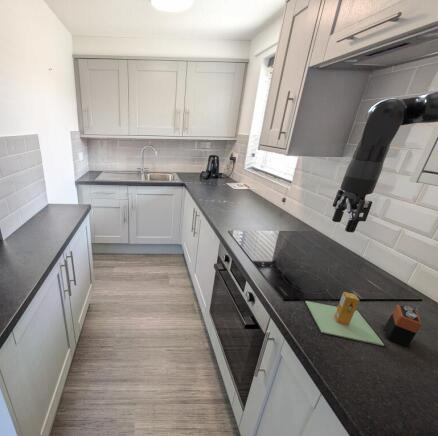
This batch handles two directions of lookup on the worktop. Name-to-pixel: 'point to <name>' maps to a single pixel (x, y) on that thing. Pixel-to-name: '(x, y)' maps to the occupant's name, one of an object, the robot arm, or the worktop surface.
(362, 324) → the sticky note pad
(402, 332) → the battery
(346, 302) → the supplement box
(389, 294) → the worktop surface
